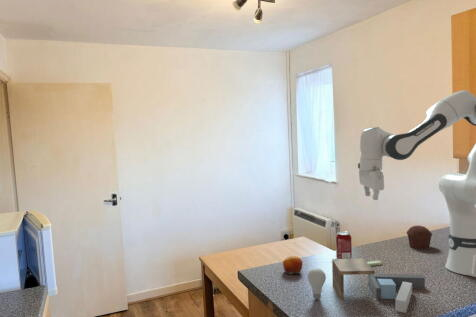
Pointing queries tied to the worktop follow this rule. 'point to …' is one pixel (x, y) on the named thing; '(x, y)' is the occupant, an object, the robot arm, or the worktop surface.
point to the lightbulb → (316, 281)
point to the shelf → (347, 272)
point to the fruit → (292, 265)
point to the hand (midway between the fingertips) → (371, 197)
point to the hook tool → (416, 281)
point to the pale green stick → (374, 263)
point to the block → (387, 288)
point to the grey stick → (403, 297)
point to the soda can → (343, 245)
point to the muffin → (419, 237)
